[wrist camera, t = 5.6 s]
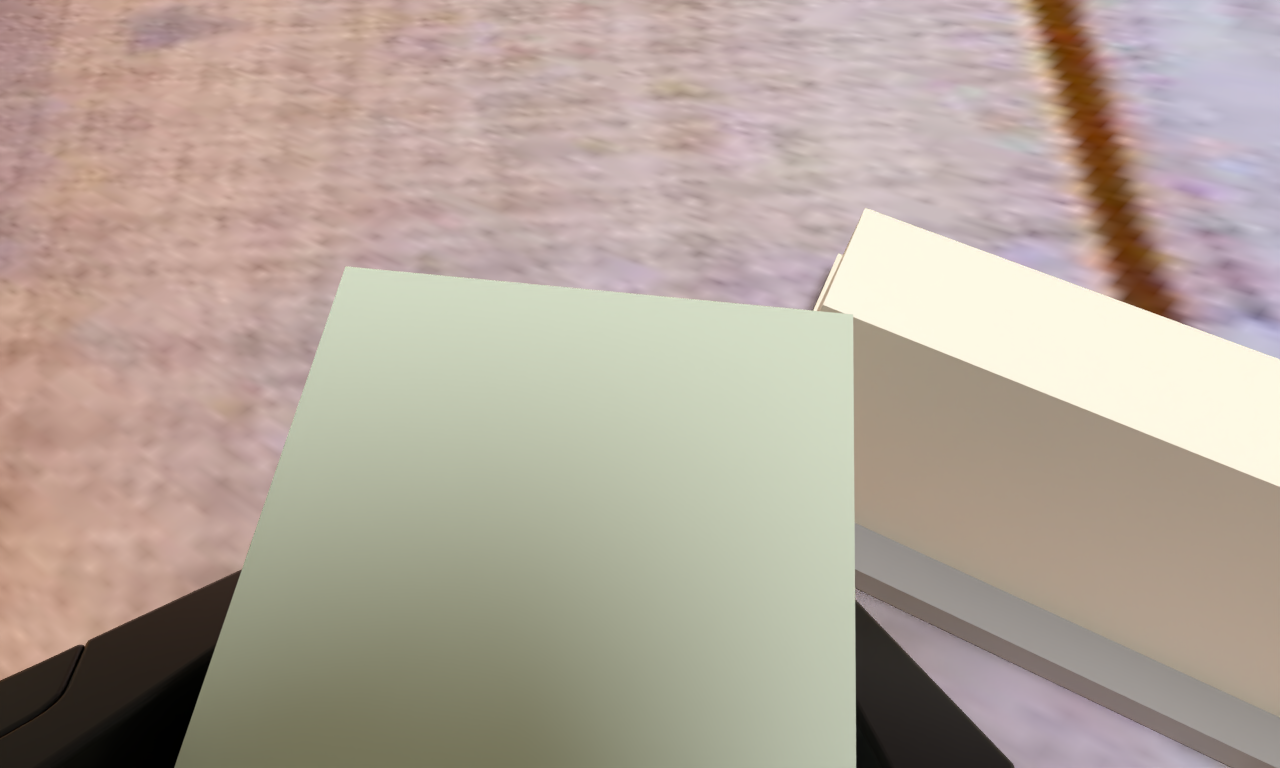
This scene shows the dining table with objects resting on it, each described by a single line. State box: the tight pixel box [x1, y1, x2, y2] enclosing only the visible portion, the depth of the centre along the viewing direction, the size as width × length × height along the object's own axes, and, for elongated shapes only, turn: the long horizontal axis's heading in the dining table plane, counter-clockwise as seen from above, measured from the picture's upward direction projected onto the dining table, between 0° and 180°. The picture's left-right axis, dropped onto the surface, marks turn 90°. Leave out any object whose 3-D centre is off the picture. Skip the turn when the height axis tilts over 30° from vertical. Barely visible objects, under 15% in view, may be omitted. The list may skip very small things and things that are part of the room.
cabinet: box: [174, 267, 856, 768], centre depth 10 cm, size 6×5×10 cm
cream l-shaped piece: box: [813, 208, 1280, 768], centre depth 15 cm, size 10×20×12 cm, turn 64°
